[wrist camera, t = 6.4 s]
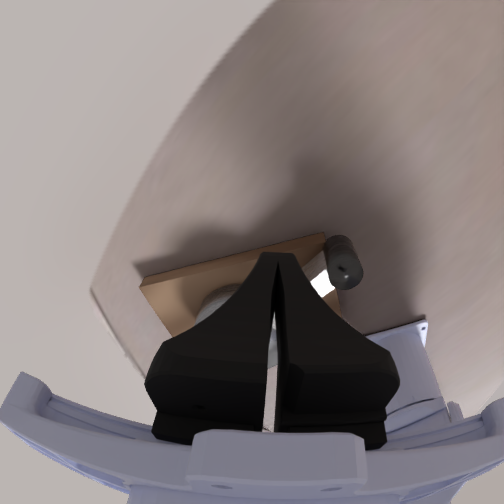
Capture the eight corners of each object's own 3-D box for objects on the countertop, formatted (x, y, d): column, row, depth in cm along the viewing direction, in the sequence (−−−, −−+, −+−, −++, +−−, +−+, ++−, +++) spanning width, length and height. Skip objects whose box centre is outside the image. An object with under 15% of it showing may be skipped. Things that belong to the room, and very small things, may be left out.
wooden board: (343, 329, 26) (346, 342, 25) (196, 354, 30) (193, 365, 29) (323, 232, 21) (326, 242, 20) (145, 277, 25) (138, 288, 24)
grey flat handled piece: (249, 360, 27) (246, 387, 24) (182, 318, 25) (172, 346, 22) (379, 271, 20) (392, 298, 18) (310, 200, 18) (316, 222, 15)
